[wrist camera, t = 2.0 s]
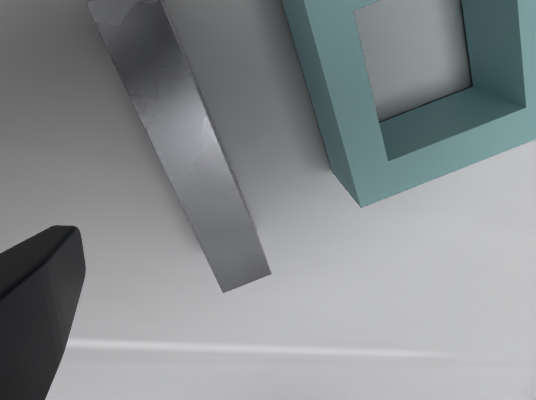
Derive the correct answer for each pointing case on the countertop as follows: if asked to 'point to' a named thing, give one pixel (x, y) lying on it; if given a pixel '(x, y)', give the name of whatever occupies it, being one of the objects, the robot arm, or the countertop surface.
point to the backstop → (182, 134)
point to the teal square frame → (423, 118)
